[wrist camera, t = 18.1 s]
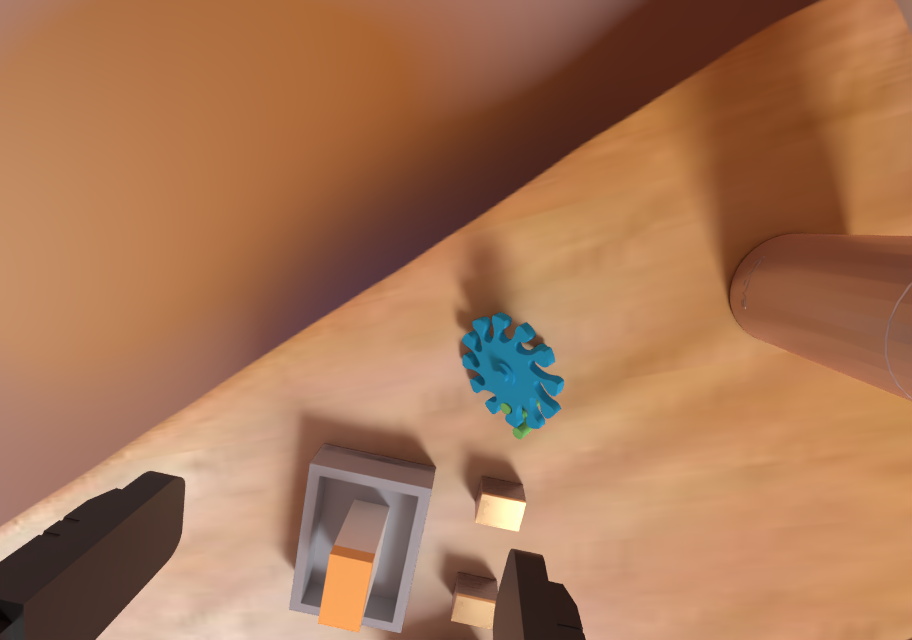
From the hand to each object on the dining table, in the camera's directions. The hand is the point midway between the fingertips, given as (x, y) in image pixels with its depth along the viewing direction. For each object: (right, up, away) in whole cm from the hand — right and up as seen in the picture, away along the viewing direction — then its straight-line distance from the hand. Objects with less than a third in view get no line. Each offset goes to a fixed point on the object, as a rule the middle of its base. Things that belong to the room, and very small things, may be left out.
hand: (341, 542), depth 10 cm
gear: (+7, +1, +28) cm, 29 cm away
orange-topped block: (-6, -16, +32) cm, 36 cm away
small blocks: (+6, -17, +32) cm, 37 cm away
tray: (-6, -15, +32) cm, 36 cm away
